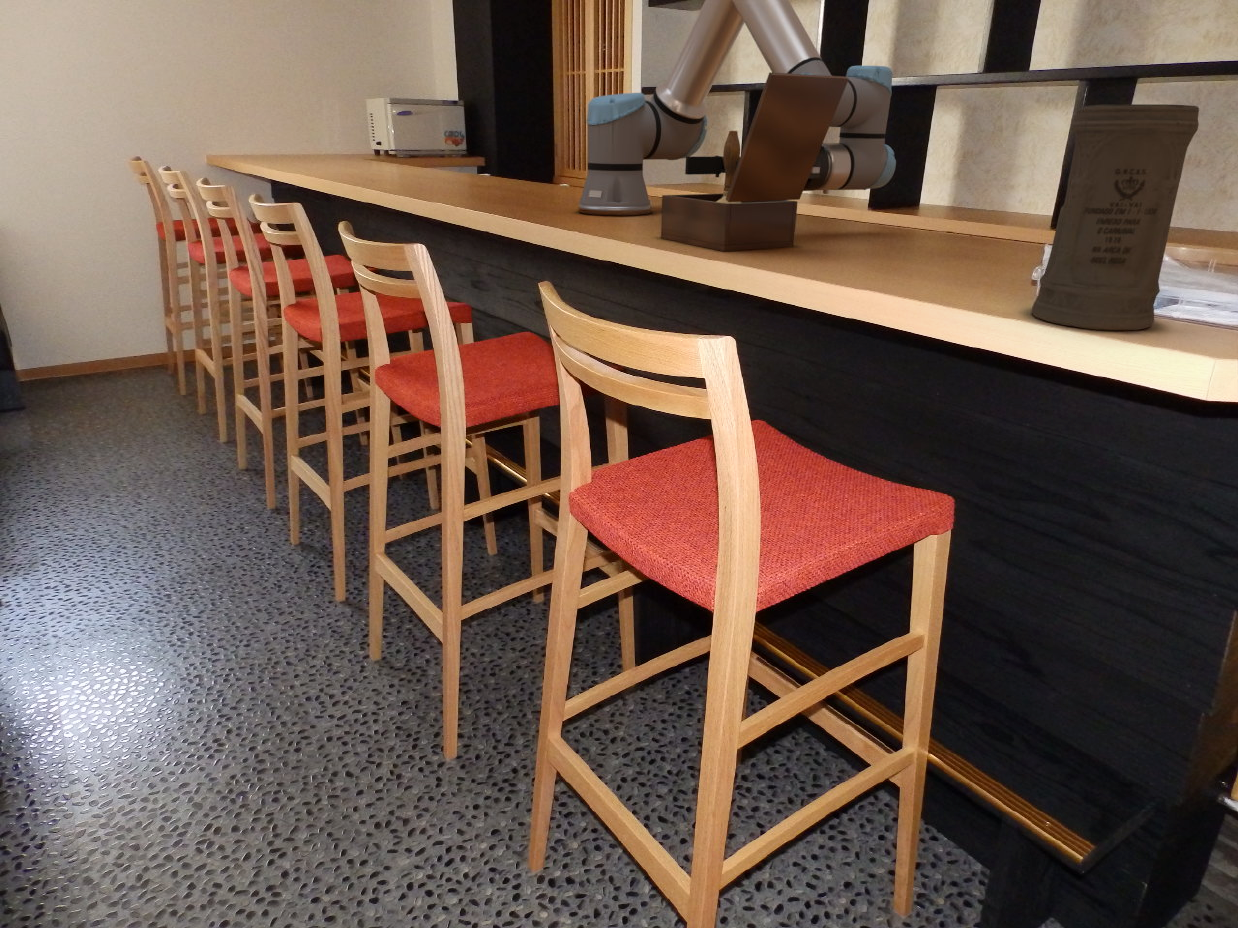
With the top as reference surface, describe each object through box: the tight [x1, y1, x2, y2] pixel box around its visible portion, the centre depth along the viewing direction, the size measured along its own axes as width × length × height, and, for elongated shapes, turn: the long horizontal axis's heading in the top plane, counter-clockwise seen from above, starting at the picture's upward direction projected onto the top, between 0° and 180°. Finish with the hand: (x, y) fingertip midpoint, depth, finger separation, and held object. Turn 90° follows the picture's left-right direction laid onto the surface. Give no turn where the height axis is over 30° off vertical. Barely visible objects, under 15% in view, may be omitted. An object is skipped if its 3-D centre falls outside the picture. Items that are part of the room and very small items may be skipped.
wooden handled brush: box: [716, 130, 741, 204], centre depth 132 cm, size 8×8×16 cm
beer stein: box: [1030, 103, 1200, 331], centre depth 82 cm, size 15×11×20 cm
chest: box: [660, 193, 798, 252], centre depth 134 cm, size 18×14×7 cm
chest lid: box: [726, 71, 849, 202], centre depth 120 cm, size 18×14×1 cm
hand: (710, 168), depth 130 cm, fingers open, 13 cm apart
